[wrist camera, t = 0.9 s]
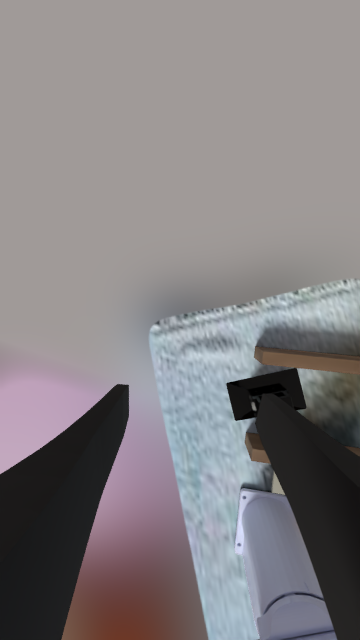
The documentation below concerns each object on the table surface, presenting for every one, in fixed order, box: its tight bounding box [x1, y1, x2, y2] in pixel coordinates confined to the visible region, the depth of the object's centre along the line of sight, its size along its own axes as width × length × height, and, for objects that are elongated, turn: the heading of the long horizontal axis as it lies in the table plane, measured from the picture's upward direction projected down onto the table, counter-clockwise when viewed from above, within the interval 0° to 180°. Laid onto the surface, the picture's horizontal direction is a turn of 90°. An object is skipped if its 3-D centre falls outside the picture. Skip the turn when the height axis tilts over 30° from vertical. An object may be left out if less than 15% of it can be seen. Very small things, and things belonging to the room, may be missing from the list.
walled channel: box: [245, 346, 360, 464], centre depth 22 cm, size 14×20×3 cm
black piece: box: [226, 368, 306, 421], centre depth 23 cm, size 12×7×5 cm, turn 105°
